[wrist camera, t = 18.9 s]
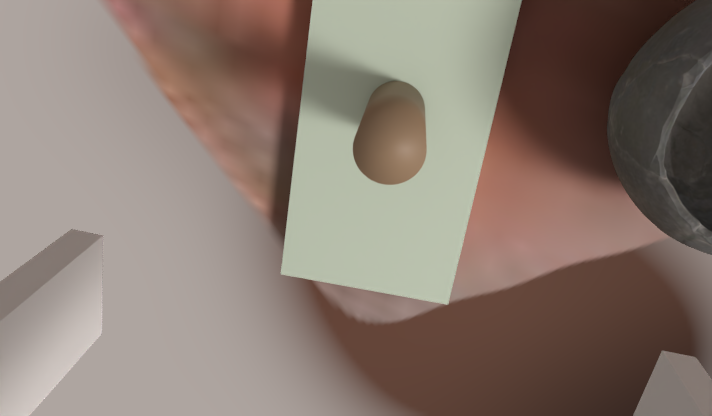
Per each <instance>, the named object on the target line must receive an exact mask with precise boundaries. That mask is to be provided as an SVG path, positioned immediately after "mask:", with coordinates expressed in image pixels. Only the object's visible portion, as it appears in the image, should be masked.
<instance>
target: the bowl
mask: <svg viewBox="0 0 712 416" xmlns="http://www.w3.org/2000/svg"><path fill="white" fill-rule="evenodd" d="M607 137H608V145H609V150H610V154H611V158H612V162H613V165H614V168H615V171H616V173H617V175H618V177H619V179H620V181H621V183H622V185H623V187H624V189H625V190H626V192H627V194H628V195H629V197H630V198H631V199H632V201H633V202H634V204H635V205H636V206H637V207H638V208H639V210H640V211H641V212H642V213H643V214H644V215H645V216H646V217H647V218H648V219H649V220H650V221H651V222H652V223H653V224H654V225H656V226H657V227H658V228H659V229H660V230H661V231H663V232H664V233H665V234H667V235H668V236H670V237H672V238H673V239H675V240H677V241H679V242H681V243H682V244H685V245H687V246H689V247H692V248H694V249H697V250H699V251H702V252H704V253H707V254H711V255H712V0H696V1H694V2H693V3H691V4H690V5H688V6H687V7H685V8H684V9H683V10H681V11H680V12H678V13H677V14H676V15H675V16H673V17H672V18H671V19H670V20H669V21H668V22H667V23H665V24H664V25H663V26H662V27H661V28H660V29H659V30H658V31H657V32H656V33H655V34H654V35H653V36H652V37H651V38H650V39H649V40H648V41H647V42H646V43H645V44H644V45H643V46H642V47H641V49H640V50H639V51H638V52H637V53H636V55H635V56H634V57H633V58H632V60H631V62H630V63H629V65H628V67H627V68H626V70H625V72H624V73H623V75H622V76H621V77H620V79H619V81H618V82H617V84H616V86H615V88H614V91H613V94H612V97H611V101H610V106H609V112H608V122H607Z"/></svg>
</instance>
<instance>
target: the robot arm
mask: <svg viewBox="0 0 712 416" xmlns="http://www.w3.org/2000/svg"><path fill="white" fill-rule="evenodd" d="M102 279H103V236H102V235H98V234H93V233H88V232H83V231H78V230H73V229H71V230H70V231H68V232H67V233H66V234H64V235H63V236H62V237H60V238H59V239H57V240H56V241H55V242H53V243H52V244H51V245H49V246H48V247H47V248H45V249H44V250H43V251H41V252H40V253H38V254H37V255H36V256H34V257H33V258H32V259H30V260H29V261H28V262H26V263H25V264H24V265H22V266H21V267H20V268H18V269H17V270H15V271H14V272H13V273H11V274H10V275H9V276H7V277H6V278H5V279H3V280H2V281H1V282H0V416H29V415H30V414H31V413H32V412H33V411H34V410H35V409H36V408H37V406H38V405H39V404H40V403H41V402H42V401H43V400H44V398H45V397H46V396H47V395H48V394H49V393H50V392H51V391H52V389H53V388H54V387H55V386H56V385H57V384H58V383H59V381H60V380H61V379H62V378H63V377H64V376H65V375H66V374H67V372H68V371H69V370H70V369H71V368H72V367H73V366H74V365H75V363H76V362H77V361H78V360H79V359H80V358H81V357H82V355H83V354H84V353H85V352H86V351H87V350H88V349H89V348H90V346H91V345H92V344H93V343H94V342H95V341H96V340H97V338H98V337H99V336H100V335H101V334H102V282H103V281H102ZM634 416H712V380H711V378H710V377H709V375H708V374H707V373H706V371H705V370H704V368H703V367H702V365H701V364H700V363H699V361H698V360H697V358H695V357H691V356H686V355H682V354H676V353H671V352H667V351H662V352H661V355H660V357H659V359H658V361H657V364H656V366H655V368H654V370H653V373H652V375H651V377H650V380H649V382H648V384H647V386H646V388H645V391H644V393H643V395H642V398H641V400H640V402H639V404H638V406H637V409H636V411H635V413H634Z"/></svg>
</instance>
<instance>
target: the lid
mask: <svg viewBox="0 0 712 416" xmlns="http://www.w3.org/2000/svg"><path fill="white" fill-rule="evenodd" d="M521 2H522V0H313V2H312V10H311V19H310V27H309V36H308V44H307V53H306V62H305V70H304V79H303V87H302V96H301V104H300V113H299V122H298V130H297V139H296V147H295V156H294V164H293V173H292V181H291V190H290V199H289V207H288V216H287V224H286V233H285V241H284V250H283V259H282V267H281V274H282V275H288V276H293V277H299V278H304V279H310V280H315V281H321V282H326V283H332V284H337V285H343V286H348V287H354V288H359V289H365V290H370V291H376V292H381V293H387V294H392V295H398V296H403V297H409V298H414V299H420V300H425V301H431V302H436V303H442V304H447V305H448V302H449V298H450V294H451V290H452V286H453V282H454V278H455V274H456V269H457V265H458V261H459V257H460V253H461V249H462V245H463V241H464V236H465V232H466V228H467V224H468V220H469V216H470V212H471V208H472V203H473V199H474V195H475V191H476V187H477V183H478V179H479V175H480V171H481V166H482V162H483V158H484V154H485V150H486V146H487V142H488V138H489V133H490V129H491V125H492V121H493V117H494V113H495V109H496V105H497V100H498V96H499V92H500V88H501V84H502V80H503V76H504V72H505V68H506V63H507V59H508V55H509V51H510V47H511V43H512V39H513V35H514V30H515V26H516V22H517V18H518V14H519V10H520V6H521Z"/></svg>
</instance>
